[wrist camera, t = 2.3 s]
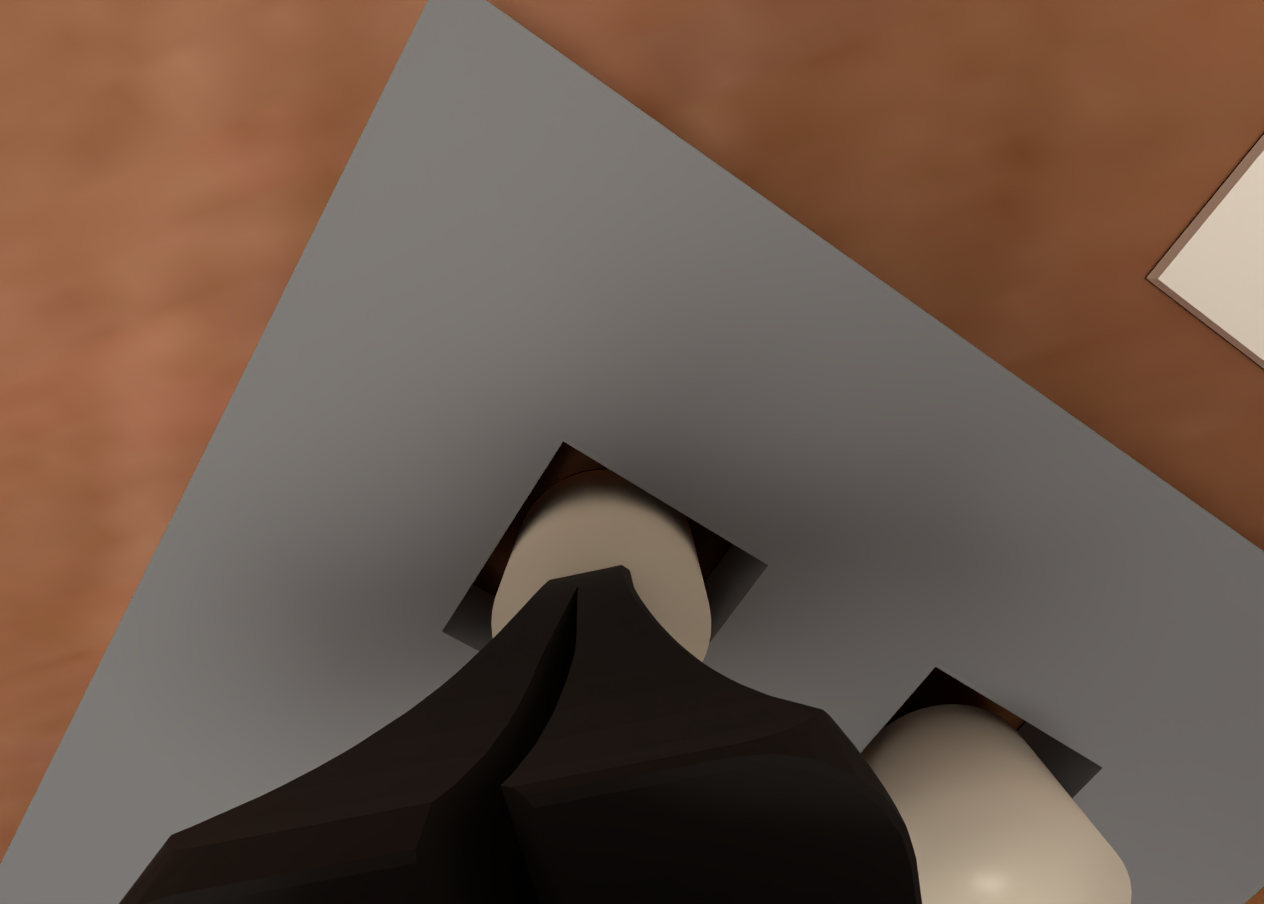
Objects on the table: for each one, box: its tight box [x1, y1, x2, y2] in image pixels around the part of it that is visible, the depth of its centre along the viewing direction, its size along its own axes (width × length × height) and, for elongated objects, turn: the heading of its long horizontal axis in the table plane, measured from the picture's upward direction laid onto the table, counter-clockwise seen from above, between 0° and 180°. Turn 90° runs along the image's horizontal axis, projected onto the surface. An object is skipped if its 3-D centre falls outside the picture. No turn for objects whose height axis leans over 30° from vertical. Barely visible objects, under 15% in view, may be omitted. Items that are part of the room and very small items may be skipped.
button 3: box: [491, 470, 711, 662], centre depth 13 cm, size 4×4×3 cm
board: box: [0, 0, 1264, 904], centre depth 15 cm, size 22×22×2 cm
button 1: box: [861, 704, 1132, 904], centre depth 13 cm, size 4×4×3 cm
